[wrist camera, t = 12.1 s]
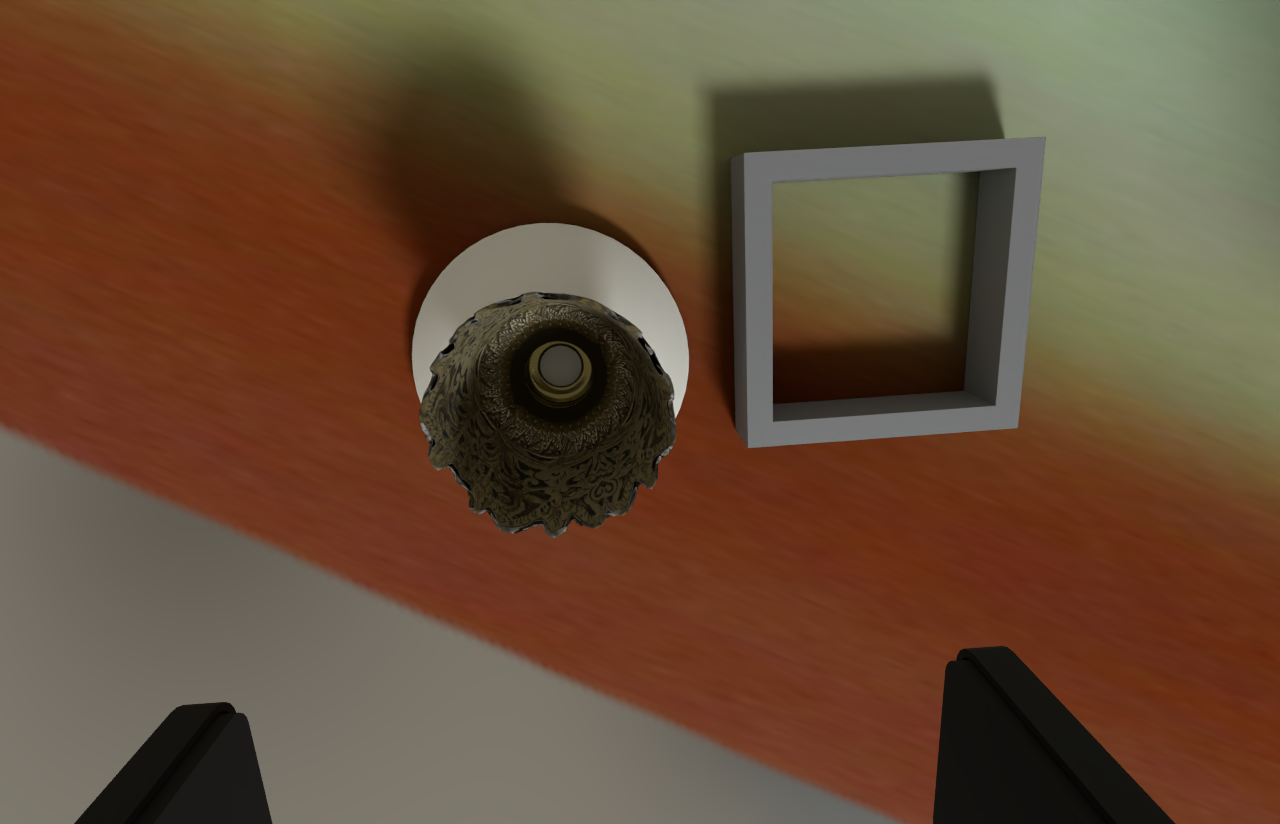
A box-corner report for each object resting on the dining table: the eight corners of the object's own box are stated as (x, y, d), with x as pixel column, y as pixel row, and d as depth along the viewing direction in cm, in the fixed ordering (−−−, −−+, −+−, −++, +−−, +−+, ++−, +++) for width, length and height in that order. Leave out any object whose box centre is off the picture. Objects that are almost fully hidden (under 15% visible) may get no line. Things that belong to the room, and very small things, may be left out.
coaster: (681, 214, 28) (683, 214, 27) (690, 476, 31) (693, 483, 30) (397, 231, 27) (392, 231, 26) (436, 495, 30) (432, 502, 29)
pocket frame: (1006, 143, 28) (1046, 136, 25) (984, 411, 31) (1017, 427, 28) (730, 158, 27) (744, 152, 25) (735, 429, 30) (747, 447, 28)
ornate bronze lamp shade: (429, 334, 27) (365, 380, 20) (589, 234, 27) (589, 242, 19) (533, 485, 29) (513, 580, 22) (686, 395, 29) (720, 461, 21)
